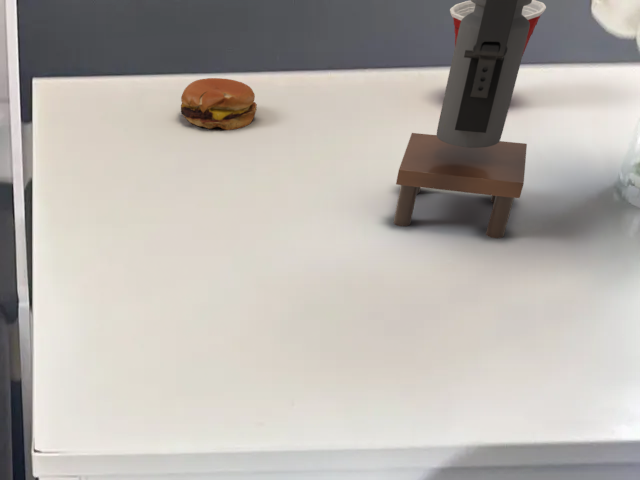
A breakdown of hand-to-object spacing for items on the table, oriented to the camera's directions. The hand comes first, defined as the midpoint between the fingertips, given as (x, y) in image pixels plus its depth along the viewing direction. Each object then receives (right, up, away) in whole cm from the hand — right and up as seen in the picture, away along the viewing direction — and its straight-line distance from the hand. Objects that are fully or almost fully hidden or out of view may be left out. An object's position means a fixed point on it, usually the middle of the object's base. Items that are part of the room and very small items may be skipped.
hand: (472, 118), depth 91 cm
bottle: (0, -2, +1) cm, 2 cm away
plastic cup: (+15, +13, +33) cm, 39 cm away
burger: (-19, +11, +32) cm, 38 cm away
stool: (0, -8, +6) cm, 10 cm away
